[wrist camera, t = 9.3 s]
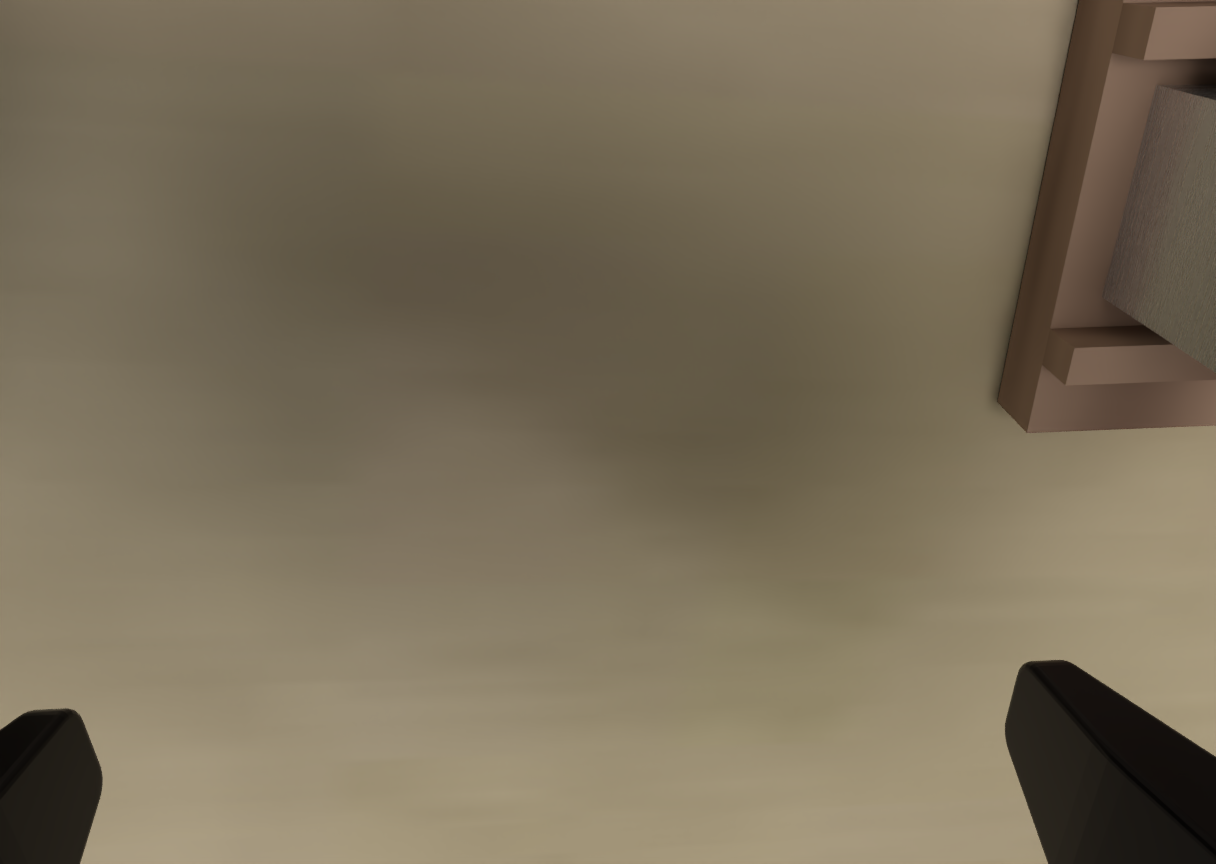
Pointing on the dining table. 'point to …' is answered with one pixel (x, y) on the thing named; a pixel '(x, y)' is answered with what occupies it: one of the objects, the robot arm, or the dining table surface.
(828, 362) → the dining table surface
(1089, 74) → the rail
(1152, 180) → the block
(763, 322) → the dining table surface
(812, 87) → the dining table surface
